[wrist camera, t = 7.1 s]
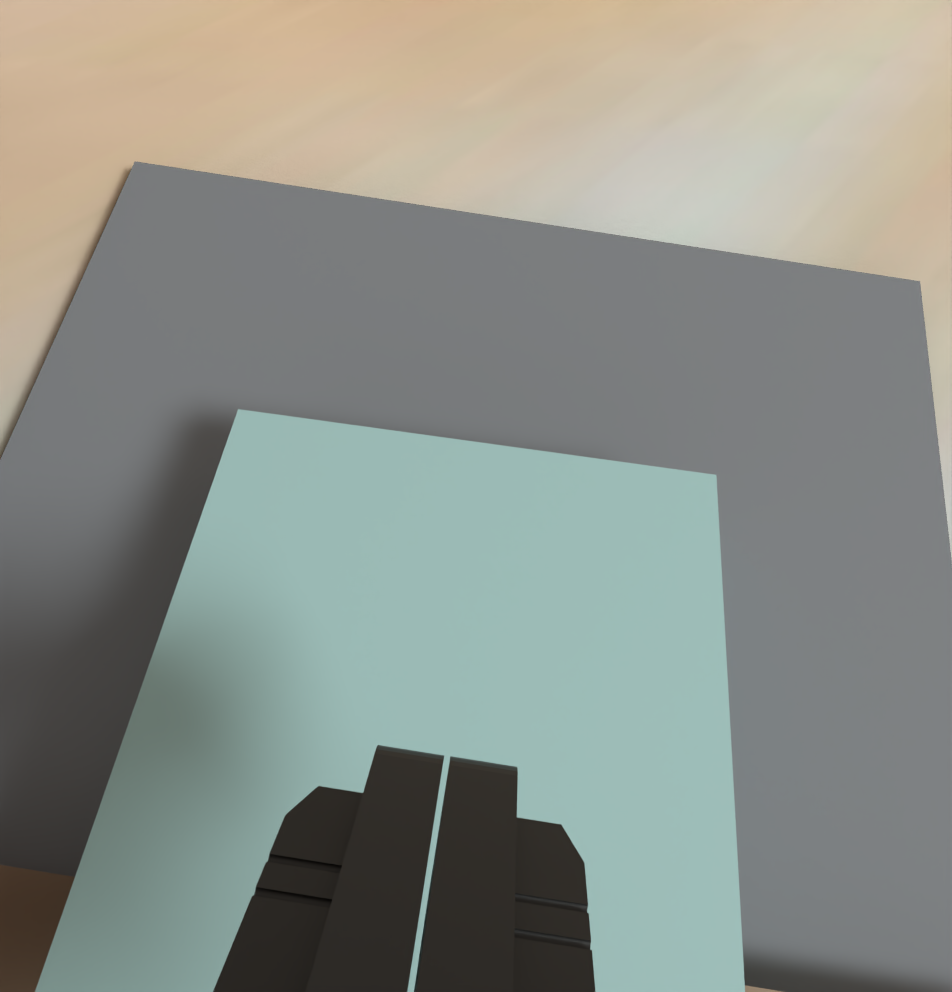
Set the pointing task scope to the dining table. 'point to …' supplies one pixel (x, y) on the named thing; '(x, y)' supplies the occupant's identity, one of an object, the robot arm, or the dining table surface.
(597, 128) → the dining table surface
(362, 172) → the dining table surface
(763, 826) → the grey board with ledge
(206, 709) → the tile
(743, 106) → the dining table surface
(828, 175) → the dining table surface
